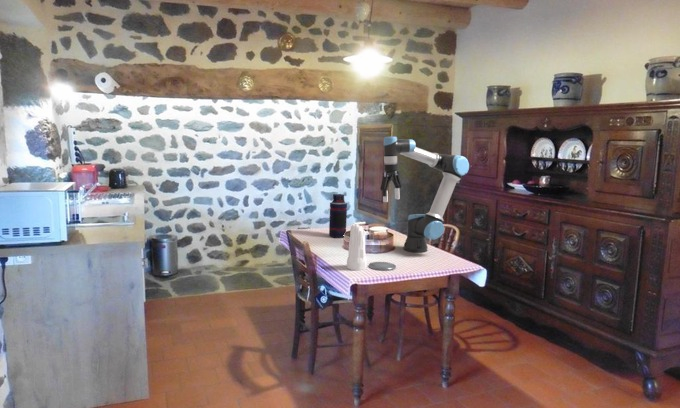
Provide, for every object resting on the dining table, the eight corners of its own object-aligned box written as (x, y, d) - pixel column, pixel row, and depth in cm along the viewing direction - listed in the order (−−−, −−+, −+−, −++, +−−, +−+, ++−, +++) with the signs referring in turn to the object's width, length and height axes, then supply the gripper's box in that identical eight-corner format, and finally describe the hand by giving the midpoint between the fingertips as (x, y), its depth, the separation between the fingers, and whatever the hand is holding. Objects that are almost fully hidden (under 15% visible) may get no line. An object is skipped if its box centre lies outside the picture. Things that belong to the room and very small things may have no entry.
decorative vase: (355, 263, 274) (357, 220, 270) (370, 268, 266) (372, 223, 263) (342, 267, 266) (344, 222, 262) (357, 271, 258) (358, 225, 255)
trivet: (378, 261, 280) (378, 260, 280) (400, 266, 271) (400, 265, 271) (363, 266, 268) (363, 265, 268) (386, 272, 259) (386, 270, 259)
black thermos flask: (348, 237, 339) (350, 195, 335) (332, 238, 335) (334, 195, 330) (340, 233, 352) (342, 192, 348) (325, 234, 347) (326, 193, 343)
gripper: (395, 162, 290) (396, 197, 293) (373, 165, 270) (374, 202, 273) (406, 162, 285) (407, 198, 288) (385, 165, 265) (386, 203, 268)
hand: (391, 200), depth 280 cm, fingers open, 13 cm apart
